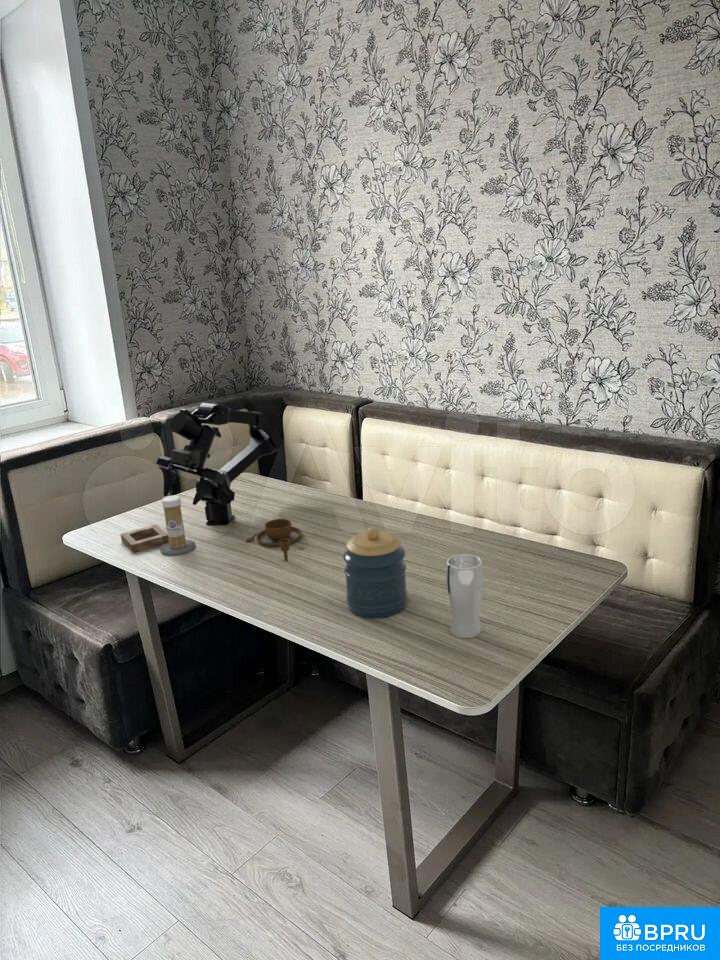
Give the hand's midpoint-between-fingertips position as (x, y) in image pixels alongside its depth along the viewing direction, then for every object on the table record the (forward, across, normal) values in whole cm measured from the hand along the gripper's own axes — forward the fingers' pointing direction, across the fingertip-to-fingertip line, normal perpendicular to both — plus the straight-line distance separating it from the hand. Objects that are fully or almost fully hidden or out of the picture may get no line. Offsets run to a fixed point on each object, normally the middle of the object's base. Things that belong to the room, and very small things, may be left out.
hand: (179, 500), depth 197 cm
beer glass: (+11, +86, -24) cm, 90 cm away
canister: (+11, +66, -18) cm, 69 cm away
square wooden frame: (+13, -7, +3) cm, 15 cm away
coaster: (+12, +5, 0) cm, 13 cm away
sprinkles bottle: (+12, +4, 0) cm, 13 cm away
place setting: (+4, +29, +5) cm, 29 cm away
